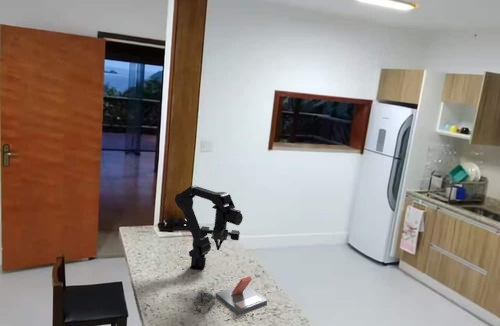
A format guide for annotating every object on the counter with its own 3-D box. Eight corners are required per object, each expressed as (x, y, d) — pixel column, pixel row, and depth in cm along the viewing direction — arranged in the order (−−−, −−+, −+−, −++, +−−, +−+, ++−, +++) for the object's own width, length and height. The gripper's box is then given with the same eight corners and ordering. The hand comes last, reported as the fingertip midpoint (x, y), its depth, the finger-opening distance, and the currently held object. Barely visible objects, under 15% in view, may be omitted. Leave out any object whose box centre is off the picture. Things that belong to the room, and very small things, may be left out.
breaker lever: (230, 293, 175) (240, 279, 169) (241, 289, 178) (251, 275, 173) (232, 296, 174) (242, 282, 168) (243, 292, 178) (252, 279, 172)
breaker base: (215, 296, 175) (216, 292, 174) (243, 286, 185) (243, 283, 185) (238, 314, 163) (239, 310, 163) (266, 303, 174) (267, 299, 173)
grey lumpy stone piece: (205, 315, 161) (206, 305, 160) (188, 309, 163) (189, 300, 162) (216, 302, 170) (217, 293, 169) (201, 297, 173) (202, 288, 172)
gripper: (198, 222, 180) (195, 254, 183) (239, 227, 179) (235, 259, 182) (202, 214, 191) (199, 244, 194) (241, 219, 190) (237, 249, 193)
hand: (218, 249), depth 191 cm, fingers closed
